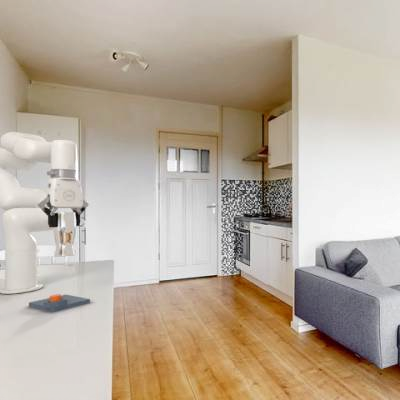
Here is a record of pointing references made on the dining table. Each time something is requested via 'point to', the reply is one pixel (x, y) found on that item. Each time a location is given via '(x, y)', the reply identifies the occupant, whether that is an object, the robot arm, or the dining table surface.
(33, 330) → the dining table surface
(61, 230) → the beer glass
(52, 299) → the button
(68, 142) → the robot arm
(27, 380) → the dining table surface
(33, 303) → the scale
